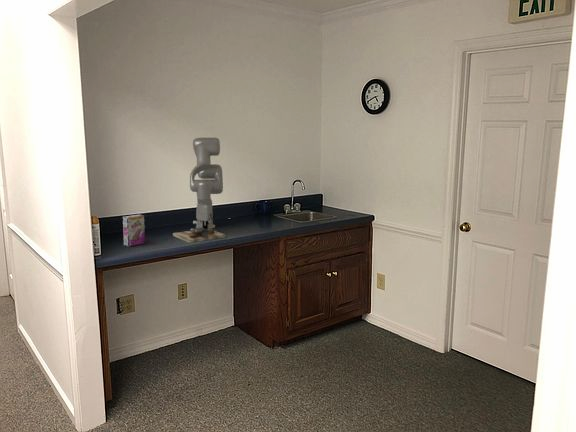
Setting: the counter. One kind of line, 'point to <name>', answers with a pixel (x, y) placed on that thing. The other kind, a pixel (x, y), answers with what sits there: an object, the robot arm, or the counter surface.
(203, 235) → the keeper
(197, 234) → the lever
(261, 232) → the counter surface
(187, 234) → the board
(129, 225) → the candy bar box
